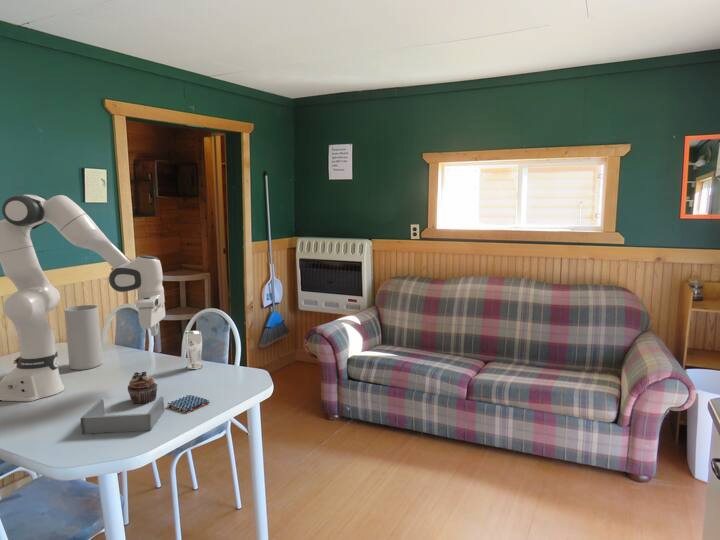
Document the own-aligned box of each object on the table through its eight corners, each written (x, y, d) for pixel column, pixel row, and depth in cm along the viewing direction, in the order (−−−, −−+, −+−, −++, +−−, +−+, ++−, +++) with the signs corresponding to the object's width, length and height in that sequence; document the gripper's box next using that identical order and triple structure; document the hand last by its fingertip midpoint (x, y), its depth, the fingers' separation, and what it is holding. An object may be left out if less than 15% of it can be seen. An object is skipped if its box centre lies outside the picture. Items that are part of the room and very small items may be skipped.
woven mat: (187, 415, 173) (186, 409, 173) (165, 409, 179) (165, 403, 178) (211, 404, 182) (211, 399, 182) (190, 399, 187) (190, 393, 187)
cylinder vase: (108, 364, 228) (104, 306, 224) (80, 372, 217) (74, 312, 214) (91, 359, 235) (87, 304, 231) (63, 367, 224) (58, 309, 221)
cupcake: (159, 402, 183) (157, 374, 182) (129, 407, 179) (127, 378, 178) (157, 393, 192) (155, 366, 191) (127, 398, 188) (125, 370, 186)
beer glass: (198, 370, 217) (196, 334, 215) (182, 369, 218) (180, 334, 216) (206, 365, 224) (204, 330, 222) (191, 364, 225) (189, 330, 223)
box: (81, 434, 159) (80, 418, 158) (101, 414, 174) (100, 399, 173) (150, 430, 161) (149, 414, 160) (164, 411, 176) (163, 396, 175)
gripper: (151, 294, 208) (154, 328, 210) (134, 304, 188) (137, 342, 190) (168, 293, 209) (170, 327, 210) (152, 303, 188) (155, 341, 190)
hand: (154, 334), depth 200 cm, fingers closed
